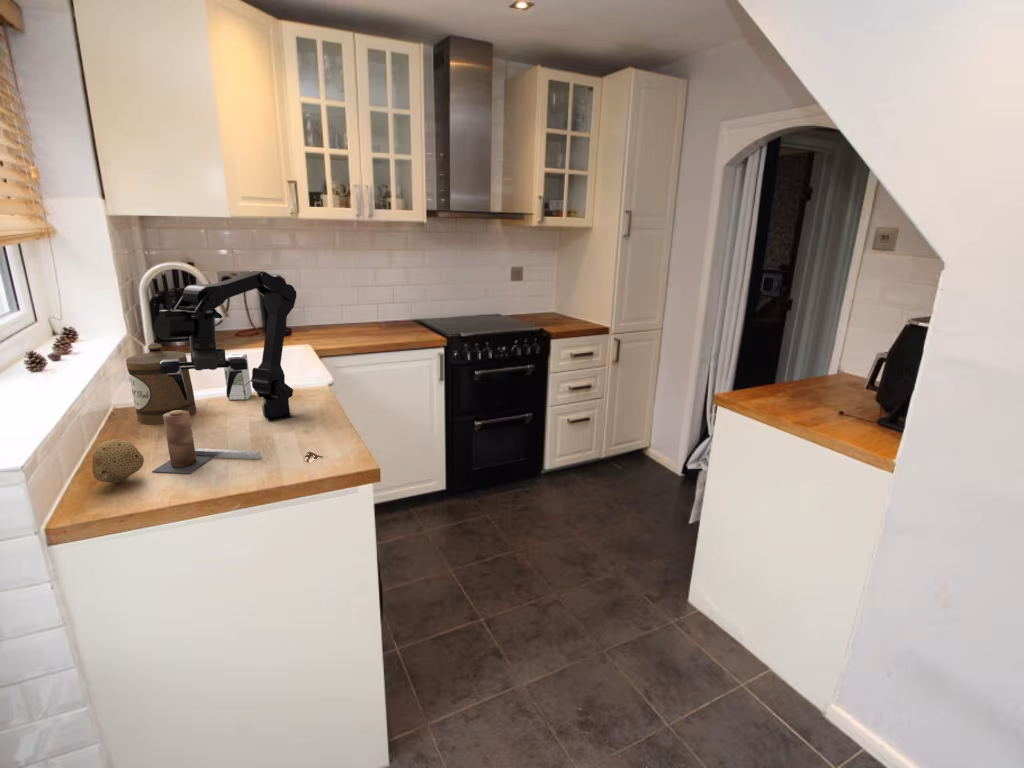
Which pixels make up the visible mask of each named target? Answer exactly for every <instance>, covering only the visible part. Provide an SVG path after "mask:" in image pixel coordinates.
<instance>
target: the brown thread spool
mask: <svg viewBox="0 0 1024 768" xmlns="http://www.w3.org/2000/svg"><path fill="white" fill-rule="evenodd" d="M163 418H164V424H163V425H164V429H165V434H166V441H167V442H166V443H167V448H168V453H169V460H170V462H171V466H172V467H174V468H184V467H188V466H191V465H193V464H195V463H196V454H195V448H196V447H195V443H194V442H195V441H194V434H193V429H192V427H193V426H192V422H191V417H190V413H189V412H188V411H183V410H174V411H171V412H168V413H166V414H164V415H163Z"/></svg>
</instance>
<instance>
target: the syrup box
mask: <svg viewBox="0 0 1024 768" xmlns="http://www.w3.org/2000/svg"><path fill="white" fill-rule="evenodd" d="M225 357H226V360H228V357H244V358H245V359H246V360H247V369H246V370H242V373H238V374H237V376H236V377H235V379H234V382H233V385H232V388H231V392H230V395H229V397H227V398H228V401H247V400H248V399H249V397H250V396H251V395H252V396H253V391H252V383H251V382H250V381H251V377H250V369H249V362H248V355H247V353H246V352H245V353H242V352H241V353H228V354H227V353H226V354H225ZM228 369H229V367H224V368H223V373H224V378H225V379H224V380H225V385H226V387H227V371H228ZM252 396H251V397H252ZM251 397H250V398H251Z"/></svg>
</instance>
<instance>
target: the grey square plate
mask: <svg viewBox="0 0 1024 768" xmlns="http://www.w3.org/2000/svg"><path fill="white" fill-rule="evenodd" d="M213 458H214V457H211V456H196V463H195V464H193V465H191V466H188V467H184V468H174V467H172V466H171V462H170V459H168V460H167V461H166V462H165V463H163V464H161V465H160V466H158V467H156V468H155V469H153V470H152V471H151V473H156V474H157V473H158V474H159V473H160V474H174V475H175V474H177V475H178V474H179V475H191V474H192V473H193V472H195V471H196V470H198V469H199V468H200V467H202V466H204V465H205V464H206V463H208V462H209V461H210V460H212V459H213ZM207 461H208V462H207ZM203 464H204V465H203ZM190 473H191V474H190Z"/></svg>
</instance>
